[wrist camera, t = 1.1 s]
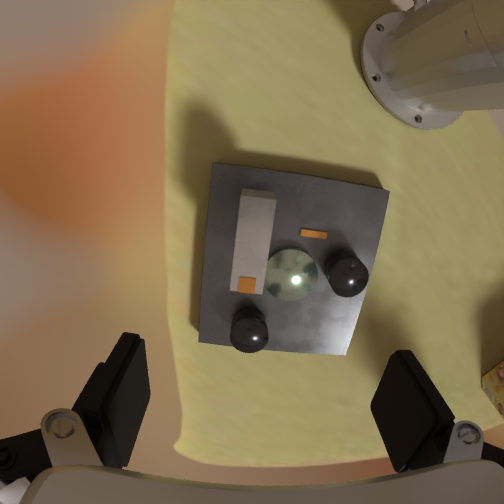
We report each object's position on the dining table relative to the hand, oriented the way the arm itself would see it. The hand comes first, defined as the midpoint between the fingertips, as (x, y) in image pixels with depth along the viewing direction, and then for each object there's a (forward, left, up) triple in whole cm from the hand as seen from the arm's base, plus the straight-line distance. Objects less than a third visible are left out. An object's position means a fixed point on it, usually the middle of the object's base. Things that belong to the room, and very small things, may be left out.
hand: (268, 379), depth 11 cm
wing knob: (-1, -1, -18) cm, 18 cm away
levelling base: (+3, +3, -20) cm, 20 cm away
